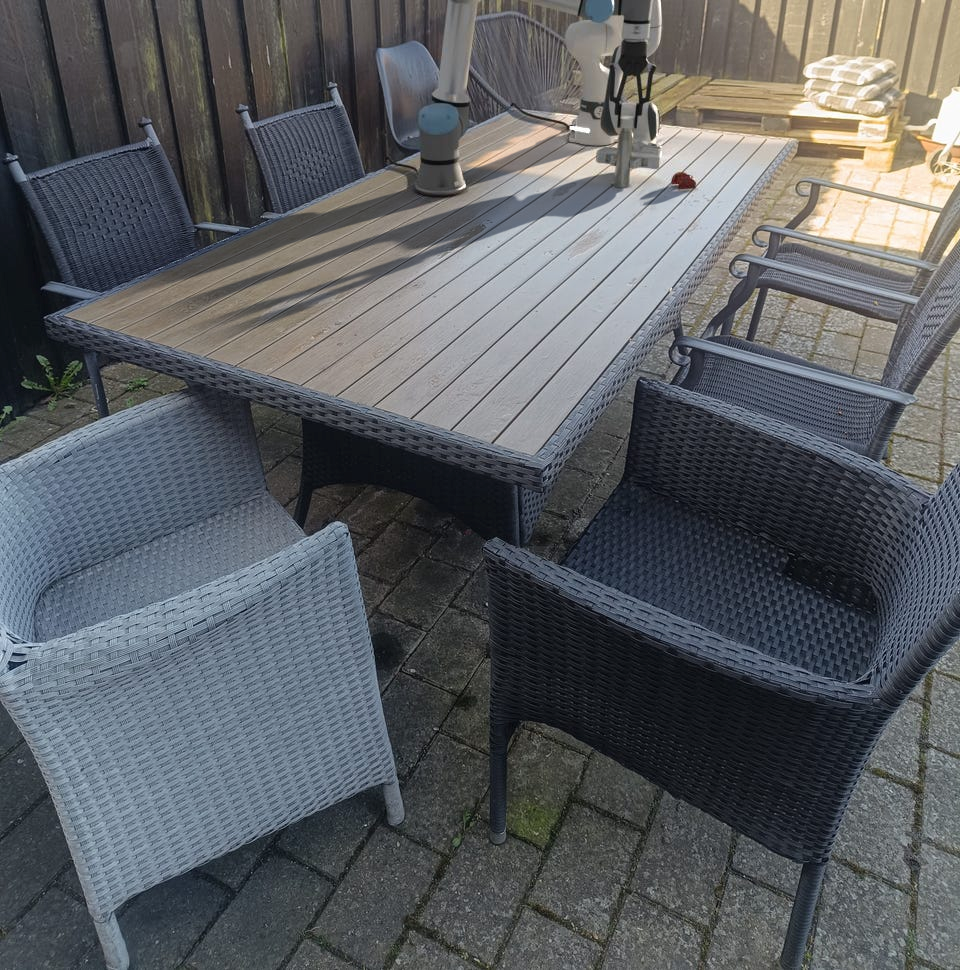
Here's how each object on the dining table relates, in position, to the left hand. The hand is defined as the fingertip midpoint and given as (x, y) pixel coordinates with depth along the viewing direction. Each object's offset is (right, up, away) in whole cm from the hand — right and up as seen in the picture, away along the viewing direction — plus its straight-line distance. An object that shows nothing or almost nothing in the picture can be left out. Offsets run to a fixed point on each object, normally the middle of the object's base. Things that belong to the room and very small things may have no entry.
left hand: (626, 126), depth 252 cm
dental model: (+19, -15, +9) cm, 26 cm away
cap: (0, +2, -1) cm, 2 cm away
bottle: (0, -14, +10) cm, 17 cm away
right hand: (0, -9, +5) cm, 11 cm away
